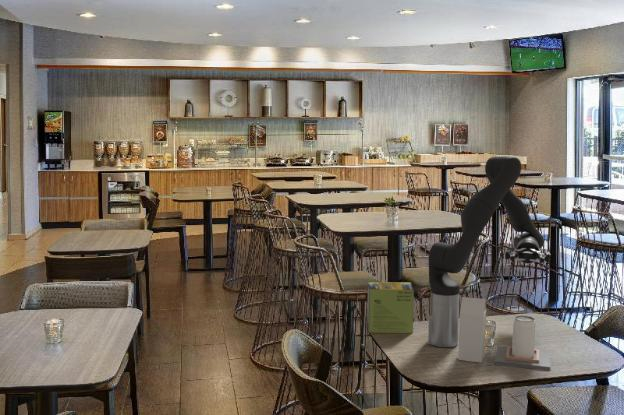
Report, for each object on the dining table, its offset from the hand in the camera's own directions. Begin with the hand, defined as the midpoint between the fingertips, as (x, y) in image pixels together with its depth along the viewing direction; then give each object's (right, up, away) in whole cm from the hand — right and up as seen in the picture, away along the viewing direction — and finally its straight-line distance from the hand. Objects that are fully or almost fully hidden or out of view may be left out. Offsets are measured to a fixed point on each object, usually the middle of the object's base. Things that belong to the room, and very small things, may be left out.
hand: (527, 259), depth 224 cm
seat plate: (-5, -30, -10) cm, 32 cm away
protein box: (-42, -26, +19) cm, 53 cm away
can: (-5, -29, -11) cm, 31 cm away
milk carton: (-20, -30, -10) cm, 37 cm away
